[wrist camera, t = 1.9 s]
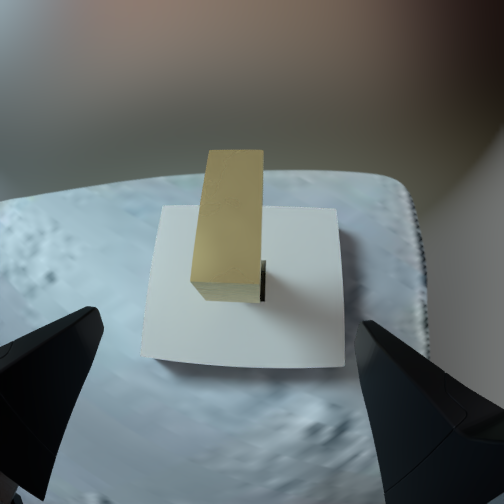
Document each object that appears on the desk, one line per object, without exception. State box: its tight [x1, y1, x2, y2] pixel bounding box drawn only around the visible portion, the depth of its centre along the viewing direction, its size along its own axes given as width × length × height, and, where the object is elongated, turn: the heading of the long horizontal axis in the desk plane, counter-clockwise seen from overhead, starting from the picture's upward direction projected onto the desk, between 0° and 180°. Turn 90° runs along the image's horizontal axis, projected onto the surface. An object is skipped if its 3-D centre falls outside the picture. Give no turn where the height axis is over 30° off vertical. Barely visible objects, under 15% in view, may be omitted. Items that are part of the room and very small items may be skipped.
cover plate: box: [140, 205, 345, 368], centre depth 20 cm, size 12×14×2 cm
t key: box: [190, 150, 263, 303], centre depth 16 cm, size 6×2×12 cm, turn 178°
